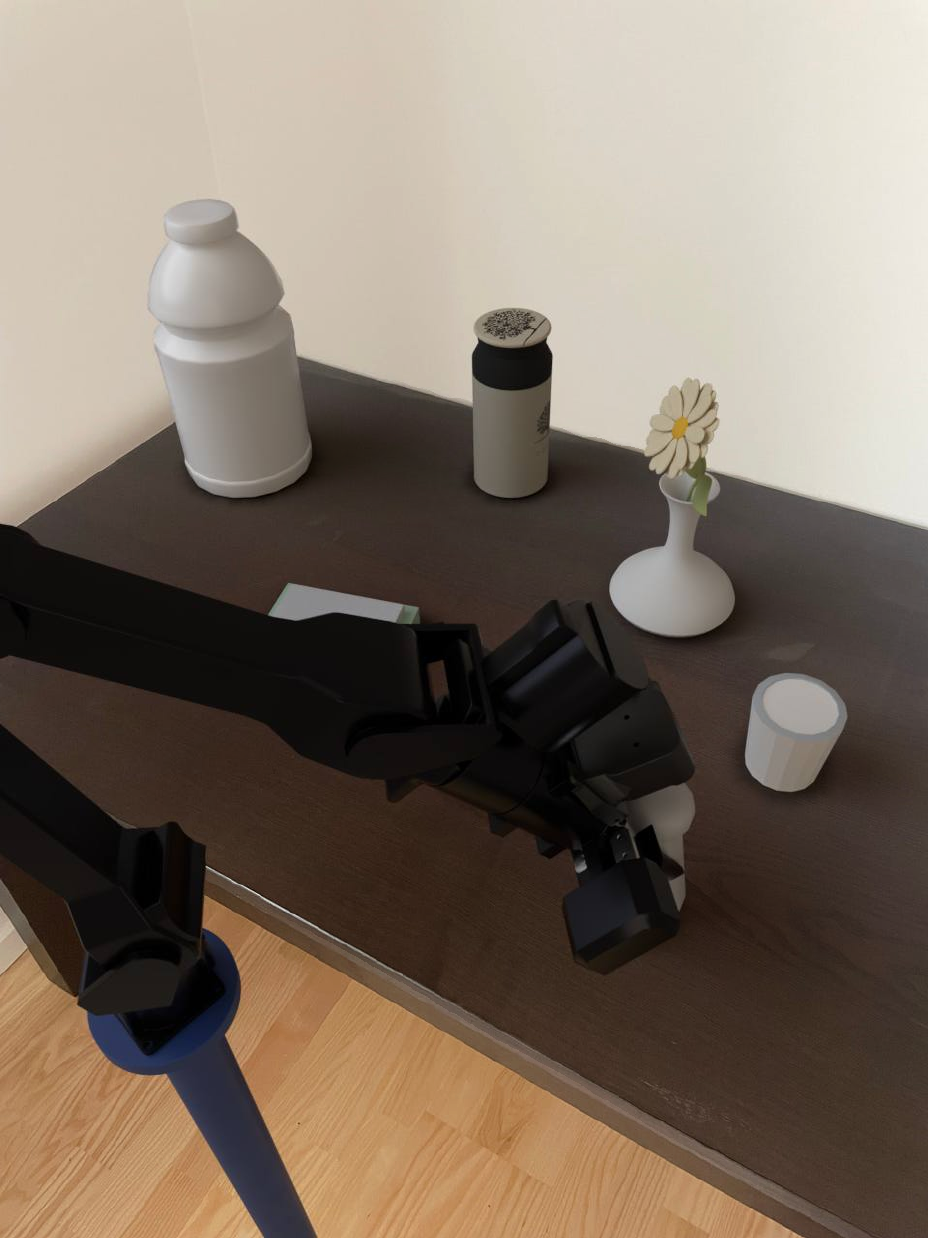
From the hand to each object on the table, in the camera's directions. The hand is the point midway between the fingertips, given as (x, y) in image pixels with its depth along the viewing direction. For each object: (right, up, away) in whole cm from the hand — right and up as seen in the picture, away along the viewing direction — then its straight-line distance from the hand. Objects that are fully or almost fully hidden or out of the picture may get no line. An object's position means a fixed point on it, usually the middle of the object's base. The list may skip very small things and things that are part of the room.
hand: (670, 850), depth 64 cm
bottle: (-37, +32, +45) cm, 67 cm away
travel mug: (-8, +30, +42) cm, 53 cm away
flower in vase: (+6, +16, +27) cm, 31 cm away
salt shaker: (-1, -5, +5) cm, 7 cm away
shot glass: (+12, +4, +14) cm, 19 cm away
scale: (-26, +12, +23) cm, 36 cm away
